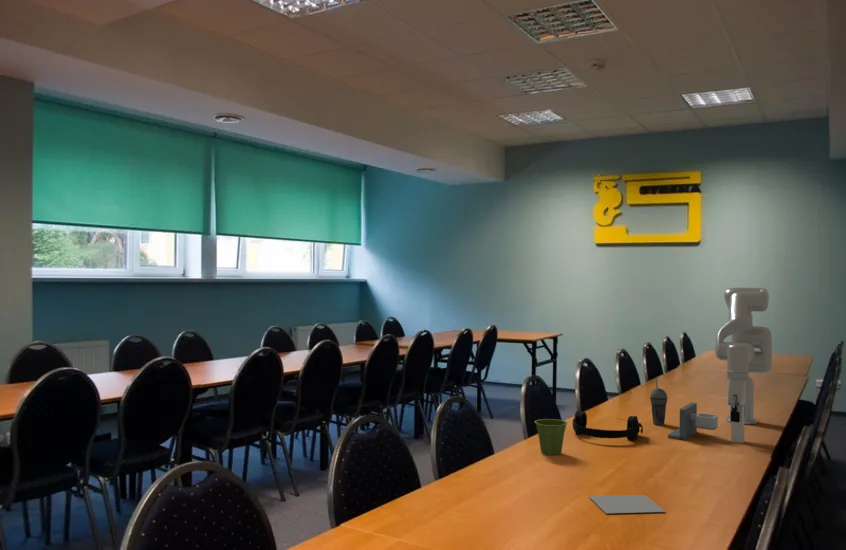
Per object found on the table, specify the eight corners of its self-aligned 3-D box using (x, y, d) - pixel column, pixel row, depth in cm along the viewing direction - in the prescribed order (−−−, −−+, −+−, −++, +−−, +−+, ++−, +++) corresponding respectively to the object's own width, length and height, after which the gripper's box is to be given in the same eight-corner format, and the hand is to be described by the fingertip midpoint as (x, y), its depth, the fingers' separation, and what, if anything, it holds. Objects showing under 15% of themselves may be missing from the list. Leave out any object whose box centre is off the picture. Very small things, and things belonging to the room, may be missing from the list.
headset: (630, 429, 280) (631, 408, 280) (655, 444, 254) (655, 421, 254) (565, 429, 279) (565, 408, 279) (583, 445, 253) (583, 422, 253)
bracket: (680, 429, 278) (680, 401, 278) (720, 435, 269) (721, 405, 269) (667, 437, 264) (667, 407, 264) (710, 443, 254) (710, 412, 254)
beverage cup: (668, 426, 284) (668, 379, 284) (651, 425, 286) (651, 379, 286) (666, 422, 291) (666, 377, 291) (648, 422, 293) (648, 376, 293)
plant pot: (569, 450, 244) (569, 419, 244) (565, 458, 233) (565, 426, 233) (537, 447, 248) (537, 417, 248) (531, 455, 237) (532, 424, 237)
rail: (733, 439, 261) (733, 404, 262) (744, 441, 259) (744, 405, 259) (731, 441, 258) (731, 405, 258) (742, 443, 256) (742, 406, 256)
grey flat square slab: (578, 488, 201) (578, 486, 201) (657, 486, 203) (657, 484, 203) (606, 515, 178) (606, 513, 178) (695, 513, 180) (695, 510, 180)
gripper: (732, 373, 268) (732, 415, 268) (722, 377, 254) (722, 422, 254) (752, 374, 263) (752, 417, 263) (743, 379, 250) (743, 424, 249)
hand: (737, 419), depth 258 cm, fingers open, 9 cm apart
